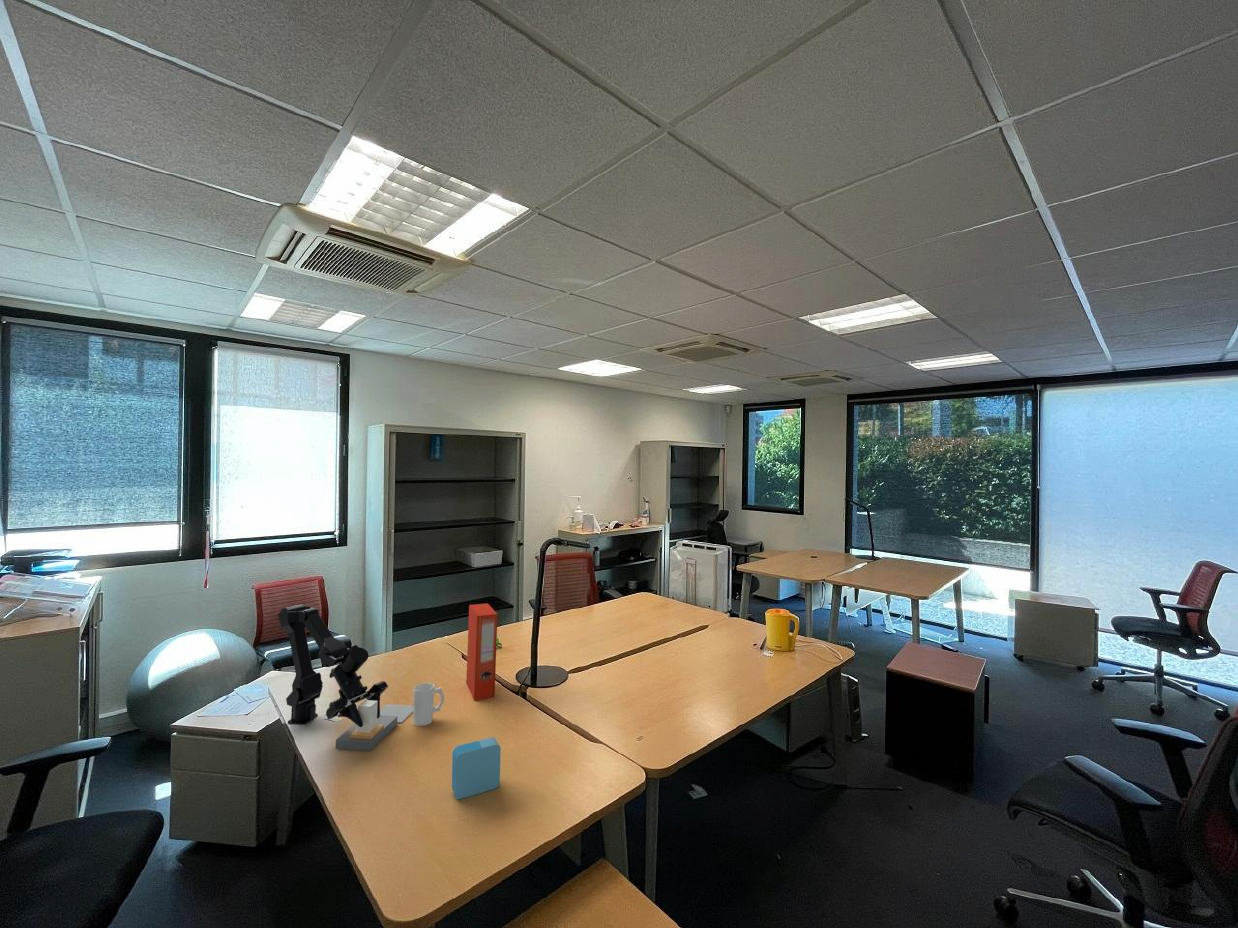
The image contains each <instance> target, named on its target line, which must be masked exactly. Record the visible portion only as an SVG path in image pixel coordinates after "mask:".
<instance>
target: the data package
mask: <svg viewBox="0 0 1238 928" xmlns="http://www.w3.org/2000/svg"><path fill="white" fill-rule="evenodd" d="M501 750H502V749H501V745H500V744H499V742H498V741H497V739H496V738H495V737H488V738H483V739H480V740H475V741H471V742H467V743H464V744H460V745H457V746H455V747H454V748H453V751H452V759H451V760H452V763H451V764H452V765H451V769H452V770H451V788H452V792H453V794H454V797H455V799H458V800H462V799H465V798H469V797H473V796H476V795H478V794H482V793H485V792H488V791H492V790H494V789H496V788H498V786H499V785H500V783H501V781H500V780H501Z"/></svg>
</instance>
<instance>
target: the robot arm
mask: <svg viewBox="0 0 1238 928" xmlns="http://www.w3.org/2000/svg"><path fill="white" fill-rule="evenodd" d="M278 621H279V623H280V627H281V629H283V631H285V632H286V633H287V635H288V639H289V644H290V650H291V656H292V660H293V665H294V671H295V677H294V679H293V682H292V683H291V687H292V688H291V690H292V691H291V692H290V694H289V695H288V696H287V697H286V698H285V702H286V705H287V706H289V707H291V714H290V718H291V719H289V720H287V724H296V725H306V724H308V722H310V721H311V720H313V719H314V718H316V717H317V716H318V713H316V712H317V708H316V707H317V705H316V699H319V698H320V697H321V694H322V692H323V691H322V690H323V687H324V685H323V684H324V683H323V681H322V675H321V673H320V672H316V671H315V670H314V669H313V665H312V660H311V653H310V648H309V644H308V638H307V633H306V630H308V632H309V634H310V635H311V637H312V638H313V640H314V642H315V644H316V645H317V648H318V649H319V650H318V657H319V660H320V662H321V664H322V666H324V667H325V668H331V667H332V668H331V669H330V673H329V679H333V678H334V679H335V681H336V683H337V685H338V687H339V690H338V694H339V698H337V699H336V700H333V701H330V702H329V705H328V706H329V707H328V708H327V709H326V711H325V716H326V718H327V719H328V720H331V719H333V718H336V717H337V718H341V717H342V718H347V719H349V720H351V722H353V723H354V724H357V725H358V726H359V727H362V726H363V723H362V719H361V717H360V714H359V712H358V706H357V704H356V703H359V702H360V701H363V700H373V701H378V704H377V719H378V718H379V717H380V710H381V695H382V694H383V693H384V692H385V691H386V690H387V688H389V685H388V683H387V682H386V680H385V681H384V680H381V681H379V682H376V683H375V684H373V685H372V686H371V687H370V689H368V686H367V685H365V686H364V684H363V683H362V681H361V679H362V678H363V677H362V675H361V674H359V675H358V674H357V672H358V671H359V670H360V668H361V667H362V666H363V665H364V664H365V663H366V662H367V661H368V660H369V659H368V658H369V657H370V656H369V652H368V650H366V649H365V648H363V647H359V646H358V645H357V644H353V645H352V646H350V647H347V646H346V644H345V643H344V642H343V641H342V640H340V639H337V638H335V637H334V635H333V634H332V632H331V631H330V629H329V628H328V626H327V625H326V623H325V622H324V620H323V618H322V617H321V616H320V611H319V609H318V608H317V607H312V606H308V605H307V606H306V605H304V604H301V603H299V604H296V605H290V606H287V607H283V608H281V609H280V612H279V613H278ZM335 665H336V666H335ZM333 666H335V667H333Z"/></svg>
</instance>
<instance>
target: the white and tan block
mask: <svg viewBox="0 0 1238 928" xmlns="http://www.w3.org/2000/svg"><path fill="white" fill-rule="evenodd" d="M377 704H378V701H373V700H367V699H364V701H363V702H361V703H360V704H359V705H357V709H358V712H359V714H360V717H361V719H362V723H363V726H362V727H359V726H358V728H357V729H356V730H354V731H353V732H352V733H351V734H350V738H363V739H372V738H373V737H374V736H375V735H376V734H377V733H378V732H379V731H380V730H382V729H383V728H384V724H377Z"/></svg>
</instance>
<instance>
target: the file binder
mask: <svg viewBox="0 0 1238 928" xmlns="http://www.w3.org/2000/svg"><path fill="white" fill-rule="evenodd" d="M498 616H499V615H498V612H496V611H495V610H494V608H493V607H492V606H491V605H490V603H477V604H469V606H468V627H467V628H468V629H467V650H466V651H467V655H466V681H465V683H466V685H467V687H468V690H469V692H470V695H471V697H472V700H473V701H481V700H485V699H492V698H495V694H496V667H497V640H498Z"/></svg>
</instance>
